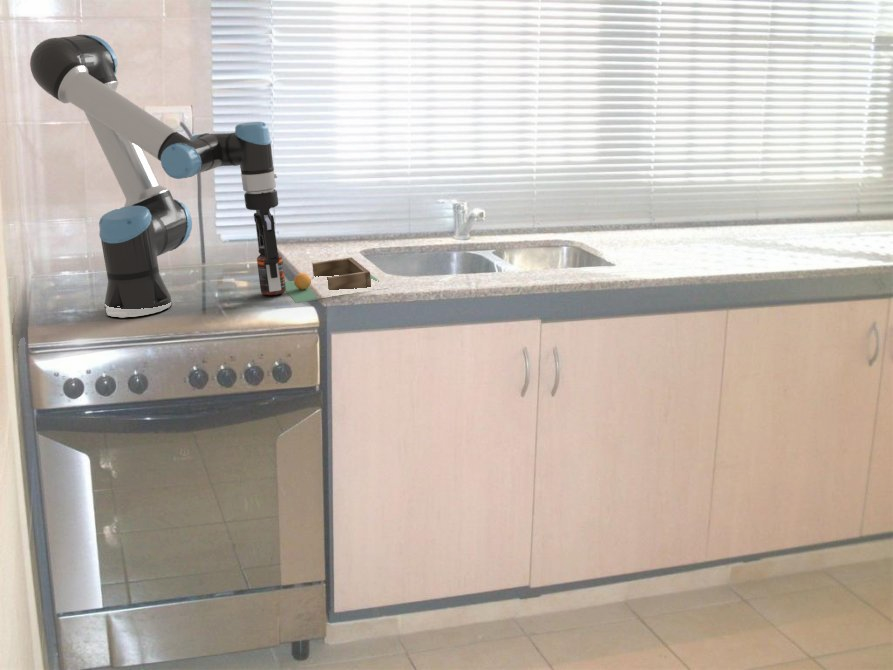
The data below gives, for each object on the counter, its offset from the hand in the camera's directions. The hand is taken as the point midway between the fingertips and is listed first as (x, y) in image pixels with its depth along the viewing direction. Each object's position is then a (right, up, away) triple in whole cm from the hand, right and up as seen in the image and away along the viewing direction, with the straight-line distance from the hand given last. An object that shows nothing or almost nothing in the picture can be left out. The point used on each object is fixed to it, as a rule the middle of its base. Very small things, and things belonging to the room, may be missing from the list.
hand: (272, 287), depth 264 cm
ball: (+7, 0, +3) cm, 7 cm away
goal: (+15, +1, +5) cm, 16 cm away
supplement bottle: (0, -1, 0) cm, 1 cm away
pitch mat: (+14, 0, +4) cm, 14 cm away
